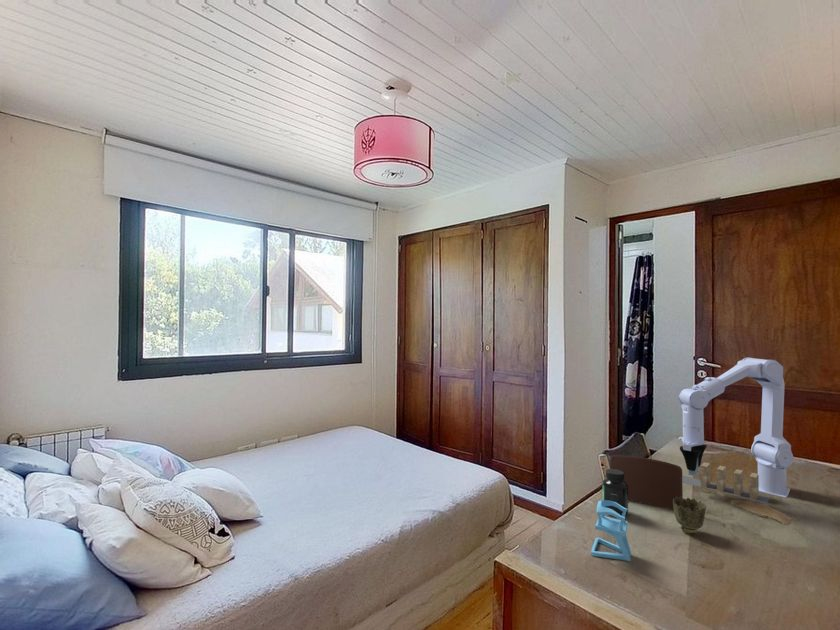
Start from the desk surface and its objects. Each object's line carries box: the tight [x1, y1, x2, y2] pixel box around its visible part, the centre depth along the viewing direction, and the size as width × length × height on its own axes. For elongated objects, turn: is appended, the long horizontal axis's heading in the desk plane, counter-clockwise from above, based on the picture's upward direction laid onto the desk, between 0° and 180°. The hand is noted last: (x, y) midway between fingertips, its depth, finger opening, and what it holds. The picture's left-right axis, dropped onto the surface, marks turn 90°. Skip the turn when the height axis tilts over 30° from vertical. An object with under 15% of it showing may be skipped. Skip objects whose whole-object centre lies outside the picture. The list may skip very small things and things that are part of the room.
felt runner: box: [682, 475, 771, 505], centre depth 137 cm, size 7×26×1 cm, turn 43°
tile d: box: [748, 472, 760, 501], centre depth 129 cm, size 2×5×7 cm, turn 132°
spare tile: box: [688, 460, 699, 477], centre depth 133 cm, size 2×5×7 cm, turn 132°
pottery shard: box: [730, 499, 797, 526], centre depth 120 cm, size 8×16×2 cm, turn 14°
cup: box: [673, 496, 707, 536], centre depth 109 cm, size 8×7×8 cm
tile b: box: [716, 465, 727, 493], centre depth 136 cm, size 2×5×7 cm, turn 132°
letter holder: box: [609, 454, 684, 511], centre depth 130 cm, size 10×20×14 cm, turn 58°
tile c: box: [733, 469, 744, 497], centre depth 132 cm, size 2×5×7 cm, turn 133°
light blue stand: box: [590, 499, 632, 562], centre depth 99 cm, size 8×8×12 cm
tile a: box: [700, 462, 711, 489], centre depth 139 cm, size 2×5×7 cm, turn 132°
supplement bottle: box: [601, 468, 629, 518], centre depth 120 cm, size 7×7×12 cm
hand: (693, 468), depth 133 cm, fingers closed on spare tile, 5 cm apart
